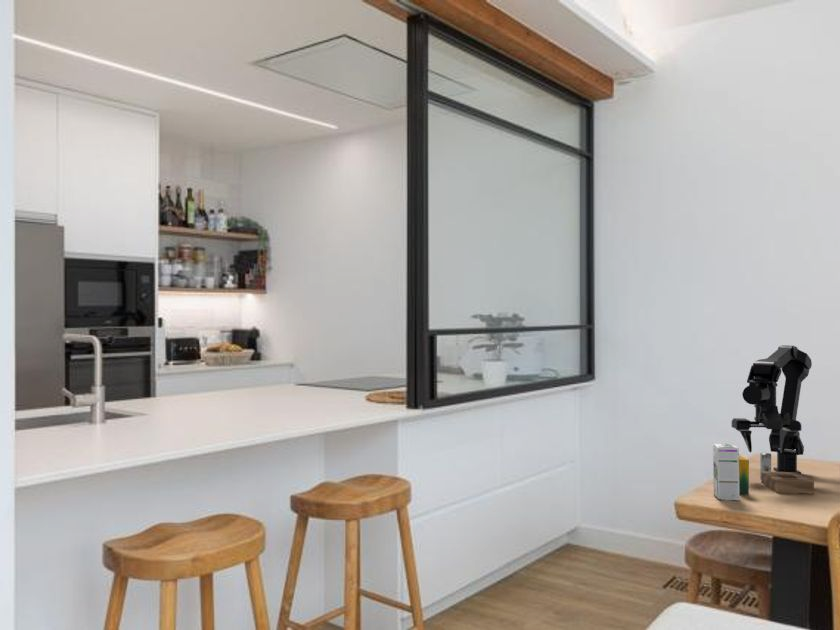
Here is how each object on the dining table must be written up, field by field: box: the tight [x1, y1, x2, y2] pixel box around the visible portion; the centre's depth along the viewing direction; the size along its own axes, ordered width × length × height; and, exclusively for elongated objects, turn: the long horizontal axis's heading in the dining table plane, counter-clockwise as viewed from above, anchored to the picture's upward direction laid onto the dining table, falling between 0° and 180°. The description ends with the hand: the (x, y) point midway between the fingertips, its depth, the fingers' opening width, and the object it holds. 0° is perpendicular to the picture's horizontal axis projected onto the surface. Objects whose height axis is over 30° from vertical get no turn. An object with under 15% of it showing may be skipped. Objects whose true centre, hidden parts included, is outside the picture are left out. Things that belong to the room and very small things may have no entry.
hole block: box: [760, 471, 815, 495], centre depth 203 cm, size 12×10×4 cm
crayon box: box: [739, 455, 750, 495], centre depth 199 cm, size 7×3×12 cm, turn 173°
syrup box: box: [712, 443, 740, 502], centre depth 192 cm, size 6×6×14 cm
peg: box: [759, 452, 772, 480], centre depth 214 cm, size 3×3×8 cm
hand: (766, 452), depth 214 cm, fingers open, 9 cm apart
